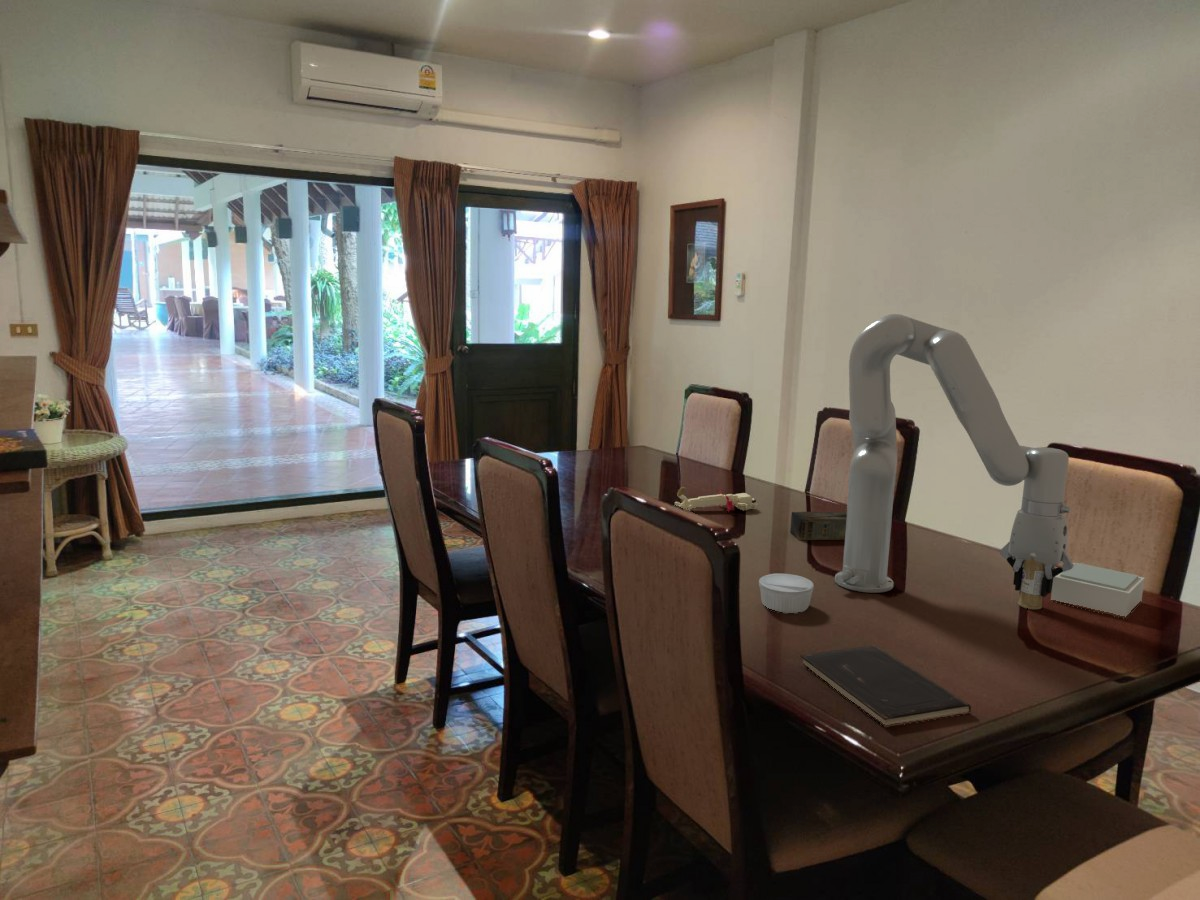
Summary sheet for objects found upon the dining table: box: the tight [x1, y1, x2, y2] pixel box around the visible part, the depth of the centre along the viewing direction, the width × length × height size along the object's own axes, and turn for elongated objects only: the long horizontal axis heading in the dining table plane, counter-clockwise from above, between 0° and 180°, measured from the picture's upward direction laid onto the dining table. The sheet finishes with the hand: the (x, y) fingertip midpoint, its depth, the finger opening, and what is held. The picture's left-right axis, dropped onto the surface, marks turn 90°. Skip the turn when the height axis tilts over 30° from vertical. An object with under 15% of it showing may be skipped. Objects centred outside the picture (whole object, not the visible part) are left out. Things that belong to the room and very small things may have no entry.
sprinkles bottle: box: [1017, 553, 1046, 610], centre depth 174 cm, size 5×5×14 cm
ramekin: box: [758, 572, 815, 614], centre depth 172 cm, size 11×11×5 cm
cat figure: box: [674, 486, 758, 513], centre depth 249 cm, size 10×9×25 cm
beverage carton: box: [789, 511, 847, 541], centre depth 224 cm, size 8×19×7 cm, turn 98°
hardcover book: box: [800, 644, 972, 725], centre depth 136 cm, size 16×23×2 cm
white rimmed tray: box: [1050, 562, 1145, 617], centre depth 178 cm, size 14×14×6 cm
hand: (1031, 591), depth 174 cm, fingers closed on sprinkles bottle, 4 cm apart
